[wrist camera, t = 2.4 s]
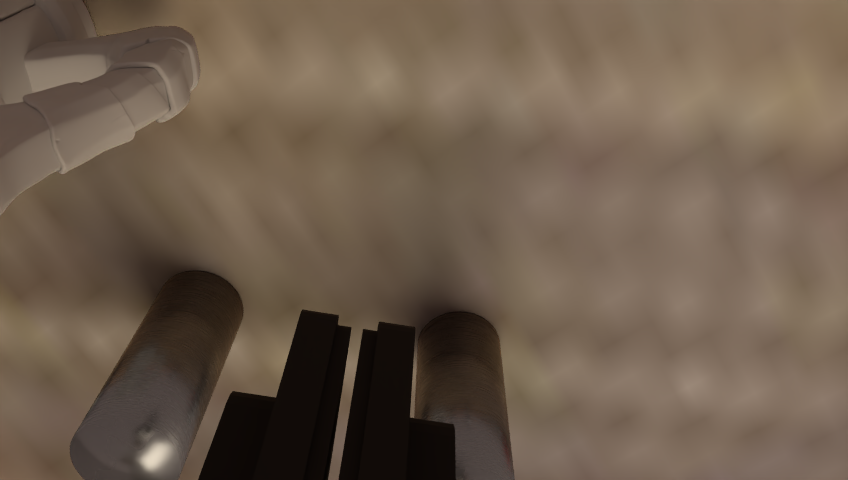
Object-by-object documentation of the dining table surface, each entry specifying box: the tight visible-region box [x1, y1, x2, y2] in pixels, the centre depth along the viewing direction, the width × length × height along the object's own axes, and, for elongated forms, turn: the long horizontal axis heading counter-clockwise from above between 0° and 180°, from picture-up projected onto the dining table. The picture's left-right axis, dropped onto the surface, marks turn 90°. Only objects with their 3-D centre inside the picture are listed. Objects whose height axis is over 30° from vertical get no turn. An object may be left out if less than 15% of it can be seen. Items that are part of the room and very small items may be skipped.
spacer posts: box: [70, 271, 515, 480], centre depth 21 cm, size 22×23×8 cm
